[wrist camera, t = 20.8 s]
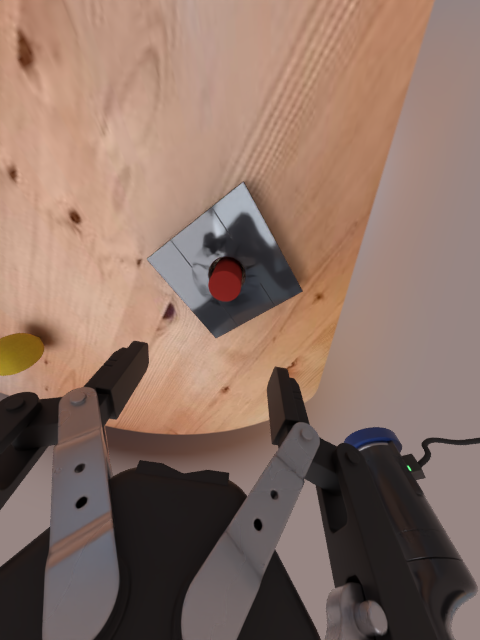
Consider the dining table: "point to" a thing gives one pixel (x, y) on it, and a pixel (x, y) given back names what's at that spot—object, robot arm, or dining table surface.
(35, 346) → the lemon
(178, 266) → the grey square base
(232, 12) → the dining table surface
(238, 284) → the stopper
